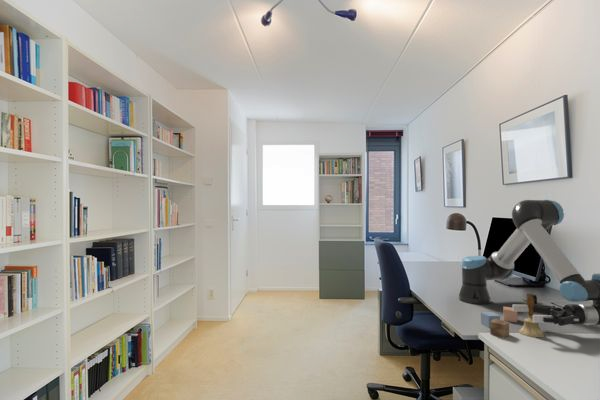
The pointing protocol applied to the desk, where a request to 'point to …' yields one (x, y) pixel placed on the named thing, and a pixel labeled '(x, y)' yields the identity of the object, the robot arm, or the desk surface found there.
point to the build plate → (534, 299)
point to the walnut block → (499, 328)
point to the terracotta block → (509, 314)
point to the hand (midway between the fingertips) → (522, 313)
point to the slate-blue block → (488, 318)
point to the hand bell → (531, 321)
